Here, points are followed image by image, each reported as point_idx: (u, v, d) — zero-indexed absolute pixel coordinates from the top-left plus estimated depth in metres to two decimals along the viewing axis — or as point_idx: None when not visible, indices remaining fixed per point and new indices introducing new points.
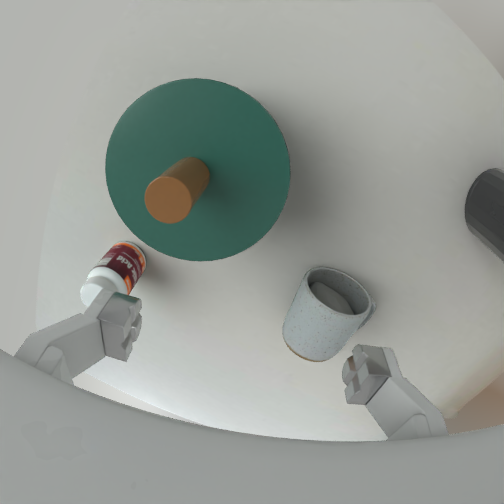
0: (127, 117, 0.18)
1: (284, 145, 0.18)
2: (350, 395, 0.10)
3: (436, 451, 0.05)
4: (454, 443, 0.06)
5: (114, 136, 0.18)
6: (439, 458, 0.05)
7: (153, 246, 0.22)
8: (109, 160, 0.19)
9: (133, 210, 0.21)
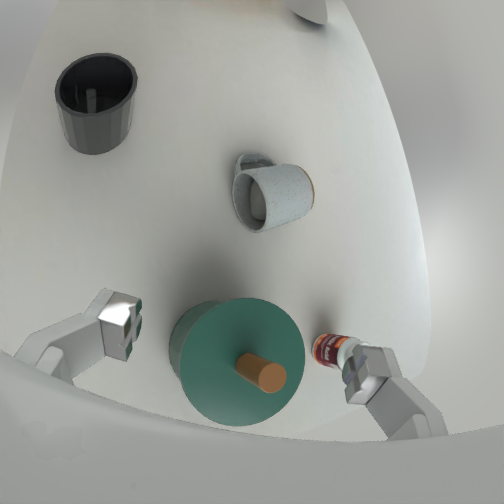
0: (240, 422, 0.27)
1: (192, 331, 0.26)
2: (350, 395, 0.10)
3: (436, 451, 0.05)
4: (454, 443, 0.06)
5: (255, 421, 0.27)
6: (439, 459, 0.05)
7: (303, 353, 0.30)
8: (270, 414, 0.28)
9: (290, 380, 0.29)
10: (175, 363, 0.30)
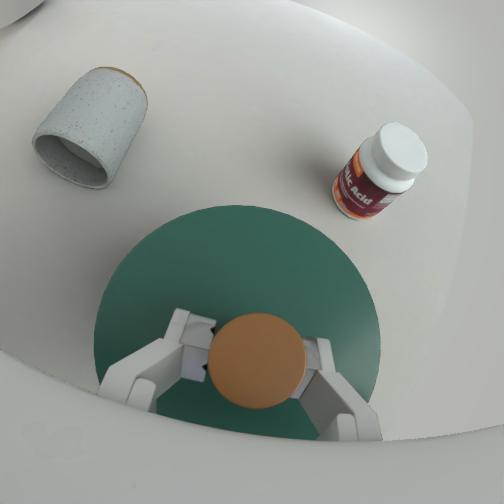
0: None
1: None
2: None
3: (436, 451, 0.05)
4: (454, 443, 0.06)
5: None
6: (439, 458, 0.05)
7: (312, 230, 0.14)
8: (372, 372, 0.13)
9: (341, 292, 0.13)
10: None
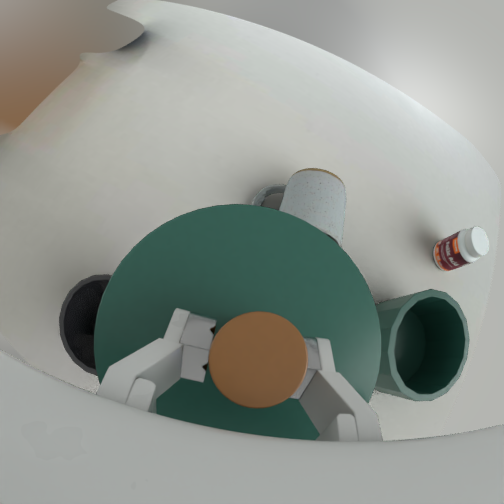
0: None
1: None
2: None
3: (436, 451, 0.05)
4: (454, 443, 0.06)
5: None
6: (439, 459, 0.05)
7: (313, 229, 0.14)
8: (372, 371, 0.13)
9: (342, 291, 0.13)
10: (388, 392, 0.29)
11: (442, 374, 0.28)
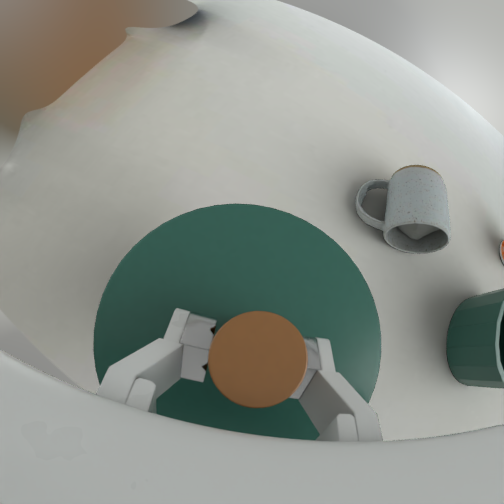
0: None
1: None
2: None
3: (436, 451, 0.05)
4: (454, 443, 0.06)
5: None
6: (439, 459, 0.05)
7: (313, 229, 0.14)
8: (372, 371, 0.13)
9: (342, 290, 0.13)
10: (481, 384, 0.26)
11: None
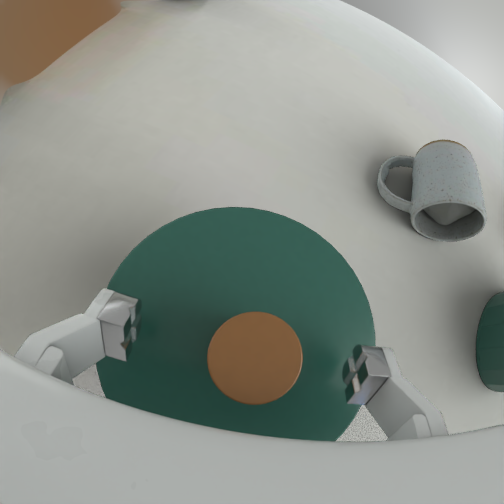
0: (333, 432, 0.12)
1: (104, 390, 0.11)
2: (350, 395, 0.10)
3: (436, 451, 0.05)
4: (454, 443, 0.06)
5: (356, 405, 0.12)
6: (439, 458, 0.05)
7: (308, 231, 0.14)
8: None
9: (337, 292, 0.14)
10: None
11: None
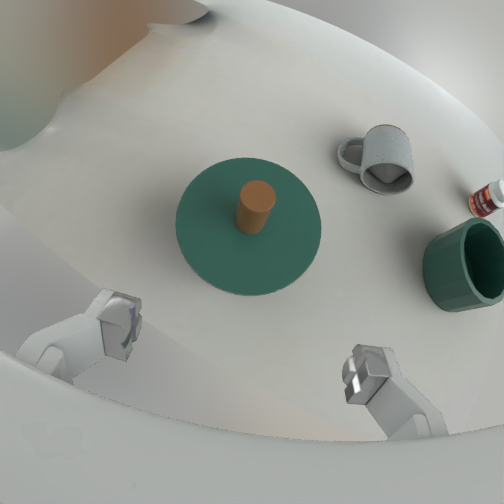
0: (301, 268, 0.26)
1: (179, 243, 0.25)
2: (350, 395, 0.10)
3: (436, 451, 0.05)
4: (454, 443, 0.06)
5: (312, 254, 0.27)
6: (439, 458, 0.05)
7: (283, 169, 0.29)
8: (317, 236, 0.27)
9: (298, 196, 0.28)
10: (457, 304, 0.34)
11: (493, 290, 0.33)
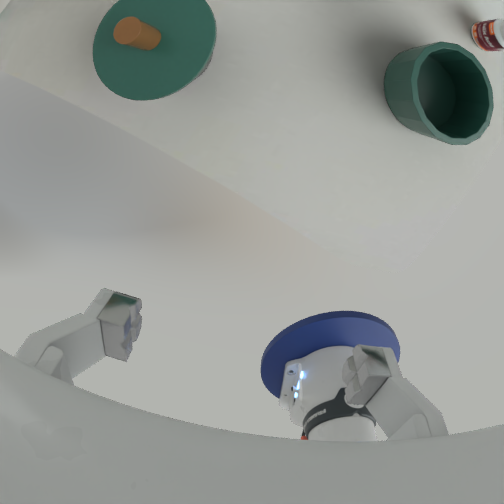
0: (191, 73, 0.24)
1: (96, 68, 0.24)
2: (350, 395, 0.10)
3: (436, 451, 0.05)
4: (454, 443, 0.06)
5: (203, 60, 0.24)
6: (439, 458, 0.05)
7: None
8: (209, 43, 0.23)
9: (194, 9, 0.21)
10: (413, 126, 0.31)
11: (465, 130, 0.28)
